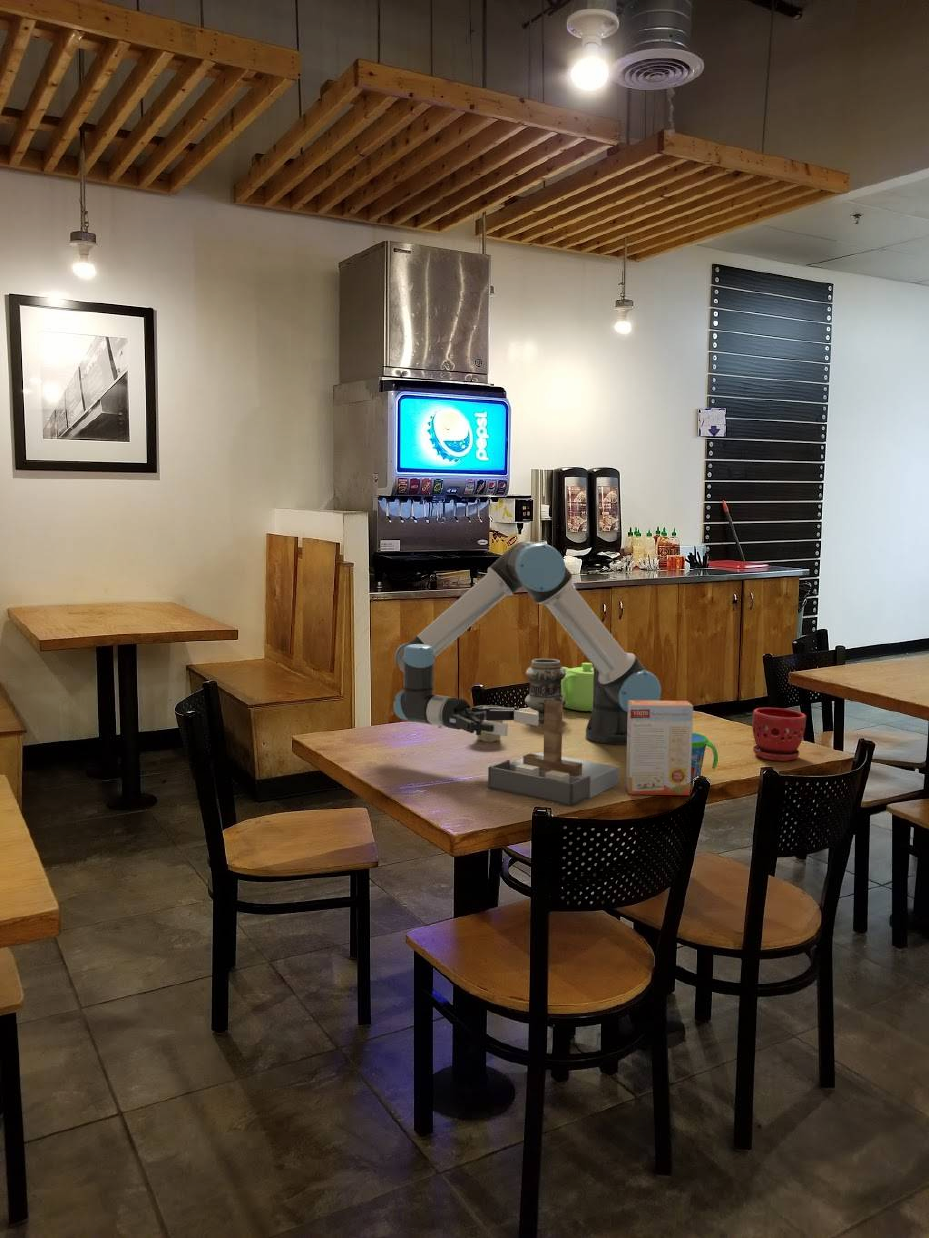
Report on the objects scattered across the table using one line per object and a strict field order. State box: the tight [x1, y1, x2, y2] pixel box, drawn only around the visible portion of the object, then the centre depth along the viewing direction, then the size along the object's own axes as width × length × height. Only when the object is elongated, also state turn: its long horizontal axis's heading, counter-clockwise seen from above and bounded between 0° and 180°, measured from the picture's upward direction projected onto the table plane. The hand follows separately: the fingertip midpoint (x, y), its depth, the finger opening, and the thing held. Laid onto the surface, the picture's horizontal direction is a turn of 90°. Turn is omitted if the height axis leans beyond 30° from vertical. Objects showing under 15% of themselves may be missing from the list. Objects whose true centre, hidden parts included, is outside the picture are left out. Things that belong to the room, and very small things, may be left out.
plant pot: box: [751, 707, 807, 762], centre depth 260 cm, size 13×13×12 cm
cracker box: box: [625, 700, 694, 796], centre depth 227 cm, size 14×6×21 cm, turn 88°
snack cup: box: [691, 732, 719, 782], centre depth 239 cm, size 16×10×10 cm
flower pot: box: [475, 704, 505, 743], centre depth 275 cm, size 9×9×9 cm
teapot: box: [561, 662, 594, 712], centre depth 318 cm, size 19×20×14 cm
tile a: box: [515, 764, 539, 776], centre depth 230 cm, size 4×4×3 cm
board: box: [510, 751, 620, 799], centre depth 235 cm, size 14×22×4 cm, turn 54°
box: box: [487, 759, 590, 807], centre depth 226 cm, size 8×22×5 cm, turn 54°
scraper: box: [522, 700, 582, 777], centre depth 230 cm, size 3×14×16 cm, turn 54°
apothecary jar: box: [524, 658, 566, 722], centre depth 300 cm, size 12×12×18 cm
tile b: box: [545, 770, 569, 783], centre depth 225 cm, size 4×4×3 cm
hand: (522, 724), depth 235 cm, fingers open, 13 cm apart
